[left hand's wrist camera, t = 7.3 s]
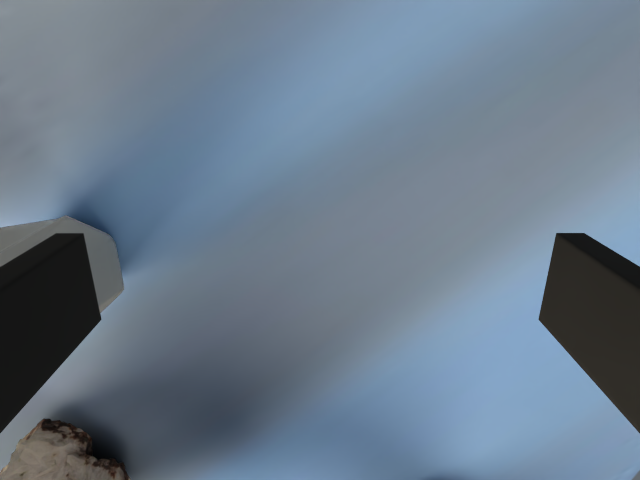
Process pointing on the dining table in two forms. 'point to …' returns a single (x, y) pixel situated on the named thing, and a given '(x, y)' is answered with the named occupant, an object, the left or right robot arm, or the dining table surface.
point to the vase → (100, 246)
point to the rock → (59, 456)
